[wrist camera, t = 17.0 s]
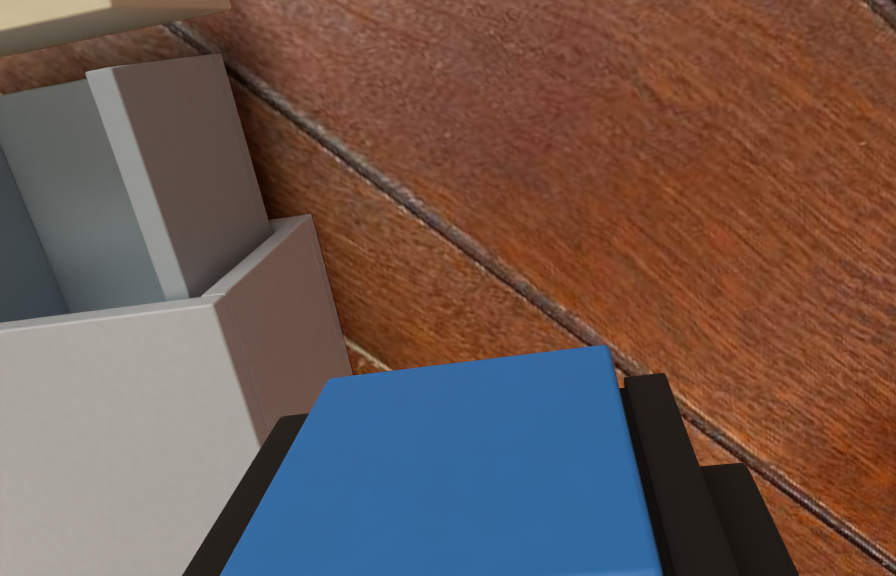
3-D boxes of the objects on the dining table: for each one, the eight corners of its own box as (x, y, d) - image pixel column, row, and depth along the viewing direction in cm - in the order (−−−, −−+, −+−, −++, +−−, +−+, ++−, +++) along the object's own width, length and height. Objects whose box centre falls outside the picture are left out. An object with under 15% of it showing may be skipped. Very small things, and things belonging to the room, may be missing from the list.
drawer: (-135, -145, 23) (-413, -211, 16) (168, -229, 21) (-4, -344, 14) (76, 353, 30) (-57, 453, 23) (318, 325, 28) (250, 425, 21)
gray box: (37, 253, 29) (-163, 351, 21) (311, 213, 27) (212, 304, 18) (150, 520, 34) (26, 684, 26) (386, 504, 32) (336, 678, 24)
